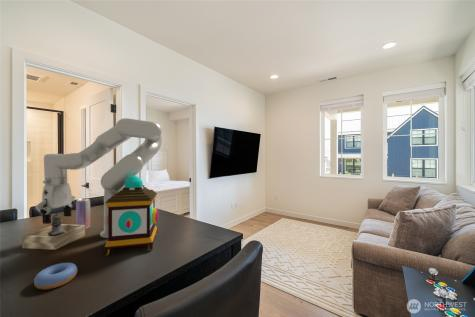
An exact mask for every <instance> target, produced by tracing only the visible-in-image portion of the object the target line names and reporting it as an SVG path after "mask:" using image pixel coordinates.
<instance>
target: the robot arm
mask: <svg viewBox="0 0 475 317" xmlns="http://www.w3.org/2000/svg"><path fill="white" fill-rule="evenodd" d="M131 138H137V139H139V138H140V139H144V141H143V142H142V143H141V144H140V145H139V146H138V147H137V148H136V149H135V150H133V151H132V152H131V153H130V154H129V153H128V154H127V155H125V156H123V157H122V158H121V159H120V160H119V161H117V162H116V163H115V164H114V165H113V166H112V167H111V168H109V169H108V170H107V171H106V172H104V174H103V175H102V177H101V179H100V185H101V187H102V189H103V190H104V191H103V192H104V193H103V230H101V232H100V233H99V236H100V237H101V238H103V239H108V223H107V216H108V207H107V206H106V204H105V202H106V201H107V200H108V199H109V198H111V196H113V195H115V194H116V193H118V192H120V191H121V190H123V188H124V187H125V181H126V180H127V179H128V178H129V177H131V176H138V174H139V173H140V172H141V171H142V170H143V168H144V167H145V165H146V164H147V163H148V162H149V161H150V160H151V159H153V158H154V156H155V155H156V154H157V153H158V152H159V151H160V149H161V146H162V141H163V140H162V127H161V126H160V125H159V124H158V123H157V122H154V121H148V120H142V119H141V120H140V119H134V118H127V117H126V118H120V119H119V120H118V121H117V122H116V123H115V125H114V126H112V127H111V128H109V129H108V130H106V131H104V132H102V133H100V134H99V135H98V136H97V137H96V138H95V140H94V141H93V142H92V143H91V144H90V145H88V146H87V147H86V148H85V149H82V150H81V151H79V152H70V153H46V154H45V155H44V156H43V173H44V174H43V175H44V176H43V177H44V180H43V181H42V183H43V184H44V186H43V188H42V195H41V202H39V203H37V205H35V209H36V211H37V212H38V213H39V214H40V215H41V217H42V224H45V225H47V224H48V225H49V224H50V225H51V224H52V214H51V212H52V210H53V209H60V208H62V207H63V217H72V208H73V205H74V204H75V200H76V196H73V194H72V188H71V185H70V182H68V170H71V171H74V170H75V171H77V170H81V169H84V168H87V167H89V166H90V165H92V164H93V163H94V162H97V161H98V160H99V159H101V158H103V156H105V155H107V154H108V153H110V152H111V151H112V150H114V149H116V148H117V147H118V146H120V145H121V144H123V143H125V142H126V141H128V140H129V139H131Z"/></svg>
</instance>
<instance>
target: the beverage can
mask: <svg viewBox="0 0 475 317" xmlns="http://www.w3.org/2000/svg"><path fill="white" fill-rule="evenodd" d="M75 210H76V211H75V221H76V222H75V225H85V230H86V229H88V228H90V227H91V200H90V198H89V197H88V198H78V199H76V202H75Z"/></svg>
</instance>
